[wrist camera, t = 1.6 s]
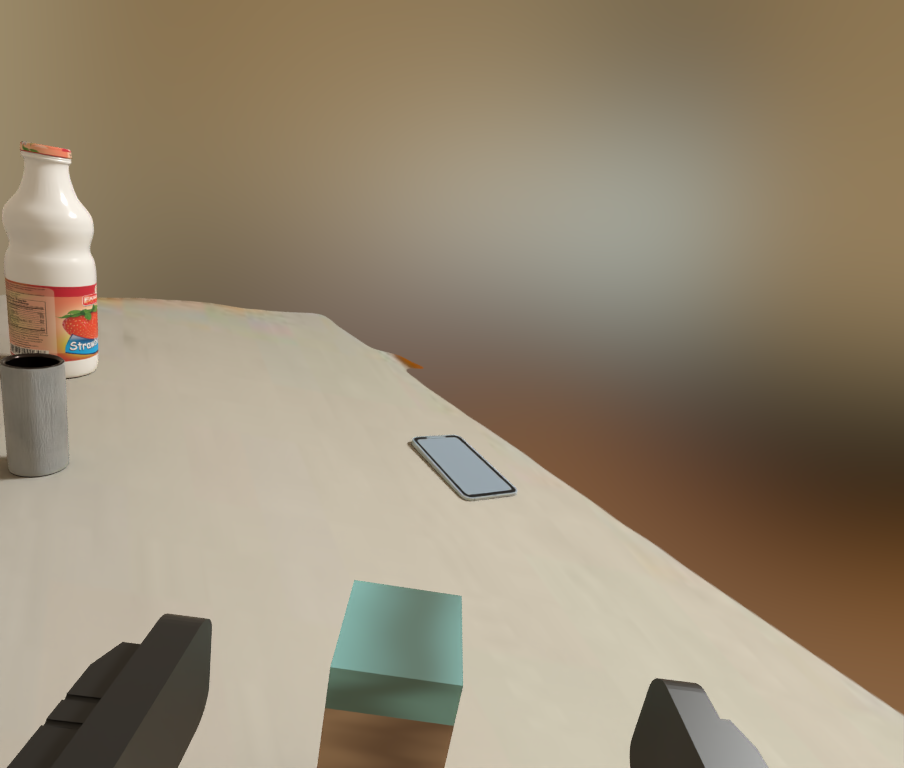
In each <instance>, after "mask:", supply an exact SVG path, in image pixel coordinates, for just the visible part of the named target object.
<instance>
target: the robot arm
mask: <svg viewBox="0 0 904 768" xmlns="http://www.w3.org/2000/svg"><path fill="white" fill-rule="evenodd" d="M211 635H212V624H211V620H210V619H205V618H198V617H190V616H182V615H174V614H165V615H163V616H162V617H161V618H160V619H159V620H158V621H157V623H156V624H155V626H154V627H153V628H152V630H151V631H150V632H149V634H148V635H147V636H146V638H145V639H144V641H143V642H142V643H141V644H134V643H126V642H122V643H121V644H119V645H118V646H116V647H115V648H113V649H112V650H111V651H109V652H108V653H106V654H105V655H103V656H102V657H101V658H99V659H98V660H96V661H95V662H94V663H92V664H91V665H90V666H89V667H88V668H87V669H86V671H85V672H84V673H83V674H82V676H81V677H80V678H79V679H78V681H77V682H76V683H75V684H74V685H73V687H72V688H71V689H70V690H69V692H68V693H67V695H66V698H65V700H61V702H60V703H59V704H58V705H57V706H56V708H55V709H54V710H53V711H52V713H51V714H50V715H49V716H48V718H47V719H46V723H45V724H44V726H42V725H41V726H40V727H39V729H38V730H37V731H36V732H35V734H34V735H33V736H32V737H31V739H30V740H29V741H28V742H27V744H26V745H25V746H24V747H23V748H22V750H21V751H20V752H19V753H18V755H17V756H16V757H15V758H14V760H13V761H12V762H11V763H10V764H9V766H8V767H7V768H178V766H179V764H180V762H181V760H182V758H183V756H184V754H185V752H186V750H187V748H188V746H189V744H190V742H191V740H192V738H193V736H194V734H195V732H196V730H197V727H198V725H199V723H200V720H201V717H202V715H203V712H204V708H205V705H206V701H207V696H208V691H209V677H210V656H211ZM630 767H631V768H768V766H767V764H766V763H765V761H764V759H763V758H762V756H761V754H760V753H759V751H758V749H757V748H756V747H755V746H754V745H753V744H752V743H751V742H750V741H749V740H748V739H747V738H746V736H745V735H744V734H743V733H742V732H741V731H740V730H739V729H738V728H737V727H736V726H735V725H734V724H733V723H732V722H731V721H730V720H725V719H720V718H719V716H718V714H717V712H716V710H715V709H714V707H713V705H712V703H711V701H710V700H709V698H708V696H707V694H706V692H705V691H704V689H703V688H702V687H701V686H700V685H698V684H696V683H690V682H682V681H674V680H666V679H658V678H656V679H654V680H653V681H652V682H651V684H650V686H649V689H648V692H647V695H646V698H645V701H644V704H643V707H642V710H641V713H640V716H639V719H638V722H637V725H636V728H635V731H634V734H633V737H632V740H631V745H630Z"/></svg>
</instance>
